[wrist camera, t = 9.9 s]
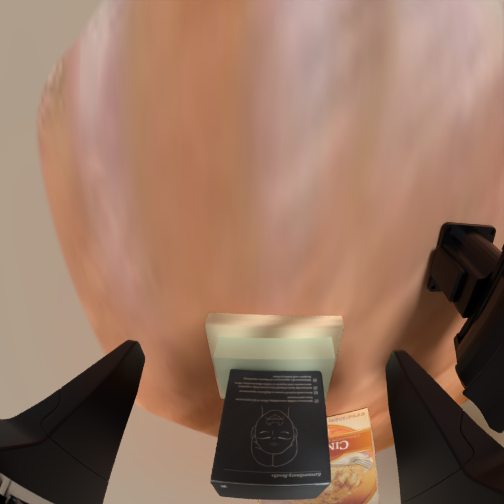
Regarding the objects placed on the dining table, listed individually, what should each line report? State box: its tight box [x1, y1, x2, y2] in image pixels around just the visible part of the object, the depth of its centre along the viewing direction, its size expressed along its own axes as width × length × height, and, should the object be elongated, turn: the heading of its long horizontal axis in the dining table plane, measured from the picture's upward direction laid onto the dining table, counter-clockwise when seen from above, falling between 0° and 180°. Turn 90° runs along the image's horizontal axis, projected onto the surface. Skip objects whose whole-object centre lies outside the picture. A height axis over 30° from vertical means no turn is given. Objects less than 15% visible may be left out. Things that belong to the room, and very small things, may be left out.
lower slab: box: [205, 313, 344, 399], centre depth 27 cm, size 12×12×2 cm
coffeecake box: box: [257, 408, 379, 504], centre depth 26 cm, size 15×7×20 cm, turn 113°
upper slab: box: [213, 337, 335, 402], centre depth 25 cm, size 10×10×2 cm
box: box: [211, 369, 331, 500], centre depth 18 cm, size 8×6×11 cm
